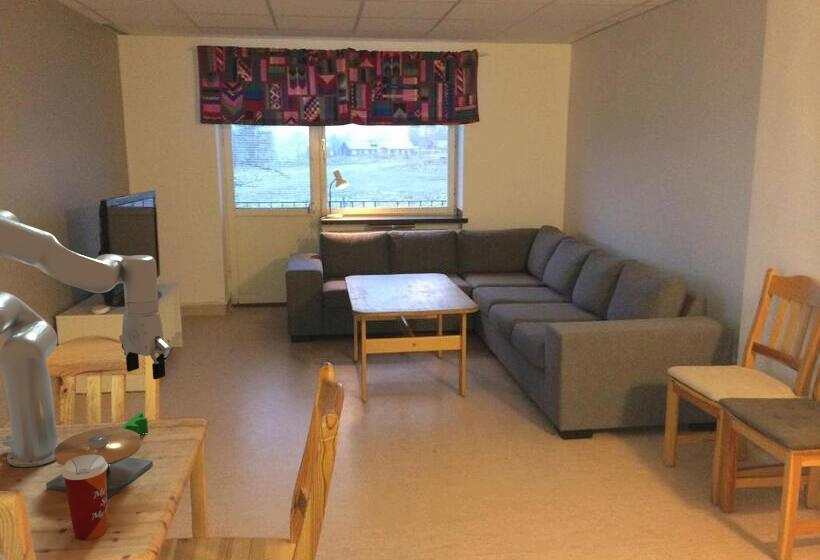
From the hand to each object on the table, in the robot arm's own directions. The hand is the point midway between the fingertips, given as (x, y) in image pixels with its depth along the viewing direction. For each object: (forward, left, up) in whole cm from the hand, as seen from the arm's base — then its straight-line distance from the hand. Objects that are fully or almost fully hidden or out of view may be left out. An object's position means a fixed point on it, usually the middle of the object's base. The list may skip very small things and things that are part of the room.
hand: (146, 373), depth 172 cm
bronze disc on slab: (-2, -17, -19) cm, 26 cm away
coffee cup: (+11, -36, -20) cm, 43 cm away
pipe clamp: (-7, +4, -20) cm, 21 cm away
